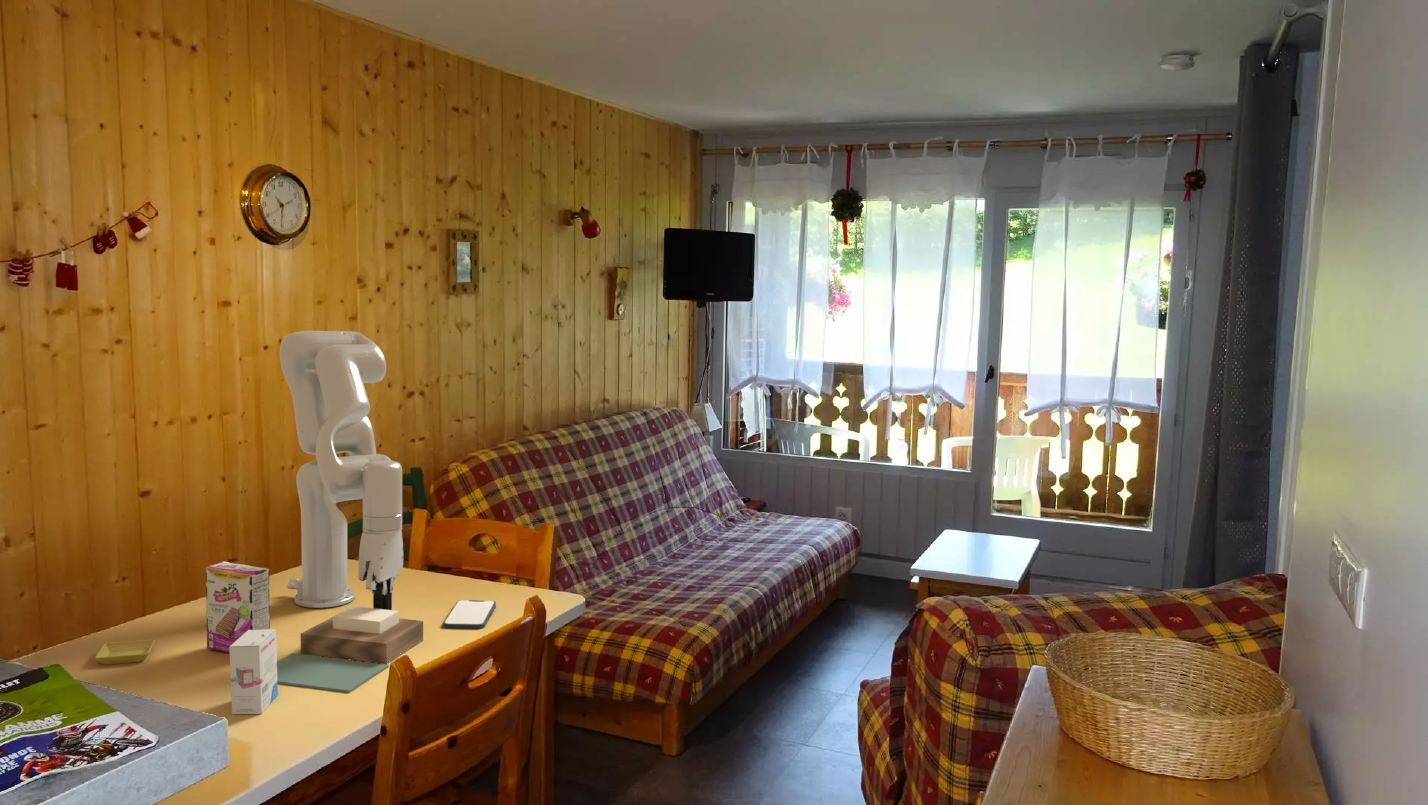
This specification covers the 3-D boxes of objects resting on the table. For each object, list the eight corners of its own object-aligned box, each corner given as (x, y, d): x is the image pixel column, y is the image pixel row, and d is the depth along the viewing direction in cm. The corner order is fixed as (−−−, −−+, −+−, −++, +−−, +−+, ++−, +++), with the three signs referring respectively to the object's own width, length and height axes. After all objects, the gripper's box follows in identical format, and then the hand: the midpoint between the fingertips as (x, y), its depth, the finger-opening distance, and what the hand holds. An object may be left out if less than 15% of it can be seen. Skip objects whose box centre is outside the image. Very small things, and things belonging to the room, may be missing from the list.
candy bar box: (205, 650, 196) (203, 566, 195) (225, 642, 201) (224, 560, 199) (252, 659, 193) (251, 573, 191) (271, 650, 197) (270, 567, 196)
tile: (333, 628, 199) (333, 616, 199) (353, 617, 206) (353, 606, 206) (379, 633, 197) (379, 621, 197) (398, 622, 204) (398, 611, 204)
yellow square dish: (104, 652, 194) (104, 642, 194) (156, 649, 197) (155, 638, 197) (94, 669, 186) (94, 658, 186) (148, 664, 189) (148, 653, 189)
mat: (248, 679, 183) (248, 677, 183) (292, 655, 196) (292, 653, 196) (349, 692, 179) (349, 690, 179) (388, 666, 191) (388, 664, 191)
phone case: (483, 632, 214) (497, 607, 230) (483, 624, 214) (497, 600, 230) (441, 631, 214) (457, 606, 230) (440, 624, 214) (457, 599, 230)
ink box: (248, 694, 177) (247, 627, 175) (278, 694, 177) (278, 627, 176) (229, 714, 168) (228, 644, 167) (261, 714, 169) (260, 644, 167)
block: (300, 653, 196) (300, 633, 196) (342, 631, 210) (342, 611, 210) (386, 664, 193) (386, 643, 192) (423, 640, 206) (423, 621, 206)
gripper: (384, 513, 214) (384, 599, 215) (344, 529, 199) (345, 621, 201) (418, 516, 212) (417, 603, 214) (380, 532, 197) (380, 625, 199)
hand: (382, 611), depth 207 cm, fingers closed
